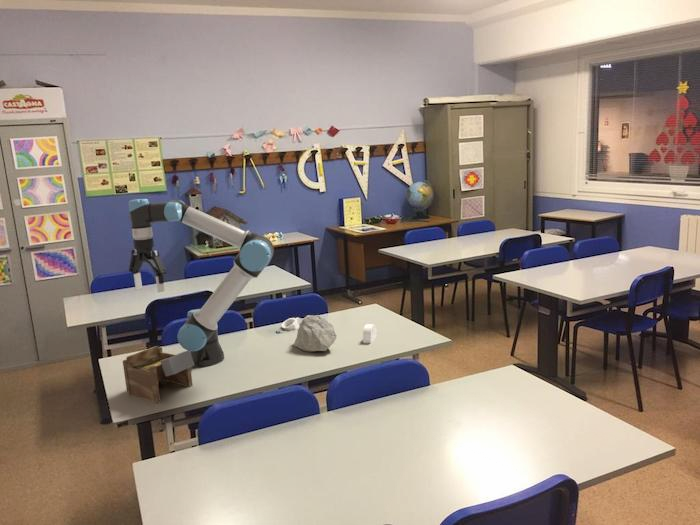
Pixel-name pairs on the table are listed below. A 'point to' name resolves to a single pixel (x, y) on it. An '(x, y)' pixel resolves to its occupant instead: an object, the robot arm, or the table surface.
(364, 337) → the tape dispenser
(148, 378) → the wooden box
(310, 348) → the grey boulder
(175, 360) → the trapdoor
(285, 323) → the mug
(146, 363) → the stone
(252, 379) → the table surface
